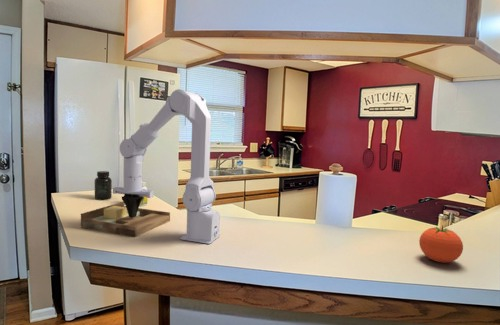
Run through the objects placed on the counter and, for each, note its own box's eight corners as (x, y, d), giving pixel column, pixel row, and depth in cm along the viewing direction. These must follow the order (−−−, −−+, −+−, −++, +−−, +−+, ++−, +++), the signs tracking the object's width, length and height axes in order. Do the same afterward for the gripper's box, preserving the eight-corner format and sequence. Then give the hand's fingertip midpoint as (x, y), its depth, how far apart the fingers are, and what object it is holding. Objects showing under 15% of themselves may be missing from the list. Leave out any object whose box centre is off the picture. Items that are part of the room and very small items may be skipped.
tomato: (445, 254, 93) (448, 220, 92) (470, 269, 83) (474, 232, 82) (410, 253, 93) (413, 219, 92) (431, 268, 82) (435, 230, 81)
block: (126, 215, 110) (126, 207, 110) (116, 219, 106) (116, 210, 105) (114, 213, 112) (114, 205, 112) (103, 217, 107) (103, 209, 107)
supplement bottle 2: (148, 203, 137) (148, 181, 136) (146, 206, 132) (146, 183, 131) (135, 203, 136) (135, 181, 135) (132, 206, 131) (132, 183, 130)
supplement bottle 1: (98, 196, 145) (98, 170, 144) (113, 197, 146) (113, 171, 145) (91, 200, 139) (91, 172, 137) (108, 200, 139) (108, 173, 138)
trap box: (169, 220, 113) (170, 208, 113) (135, 237, 95) (135, 222, 95) (122, 213, 120) (122, 201, 119) (81, 227, 101) (80, 213, 101)
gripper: (159, 176, 107) (158, 216, 108) (122, 173, 111) (122, 211, 113) (146, 179, 100) (145, 221, 102) (108, 175, 105) (108, 216, 106)
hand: (132, 216), depth 107 cm, fingers closed
